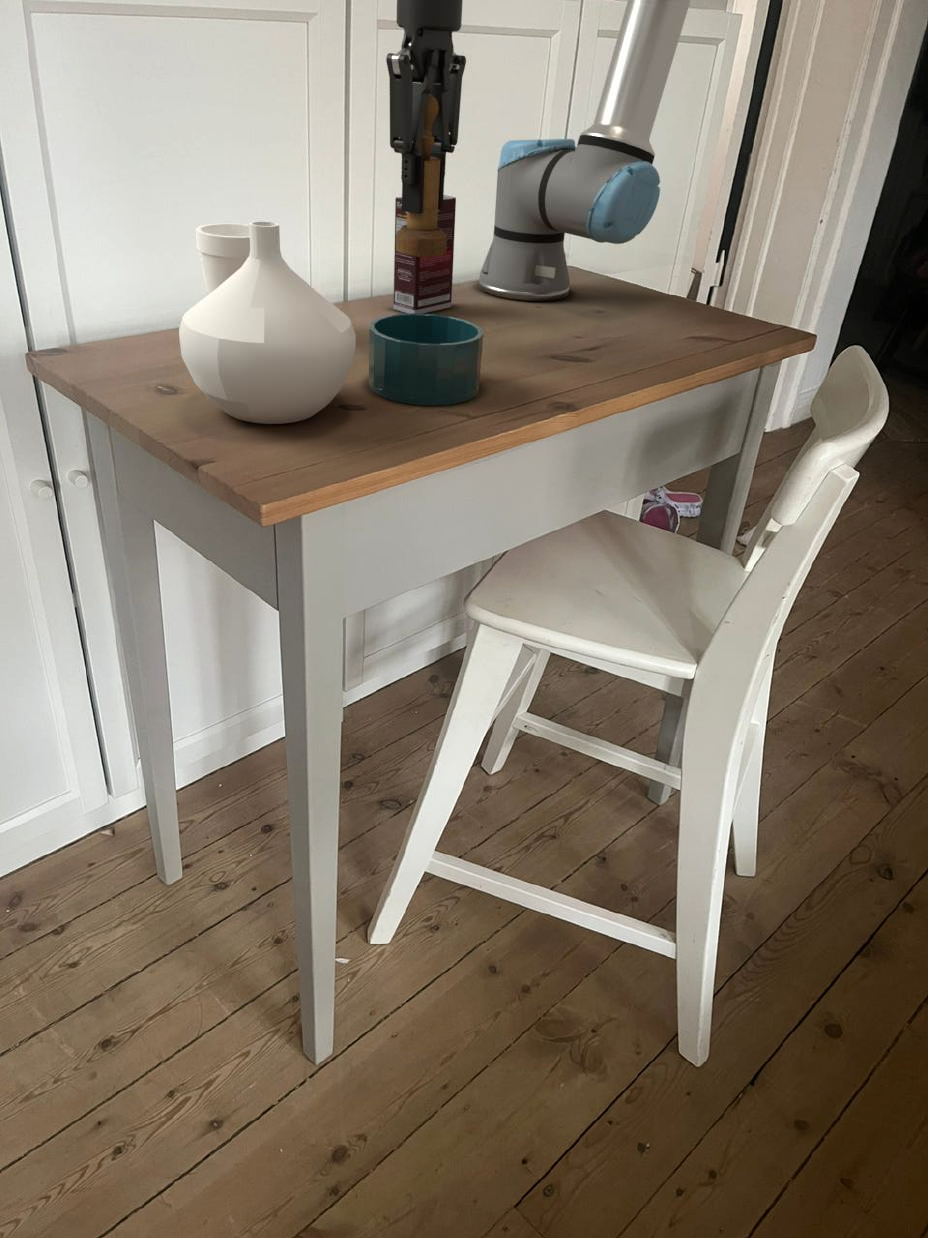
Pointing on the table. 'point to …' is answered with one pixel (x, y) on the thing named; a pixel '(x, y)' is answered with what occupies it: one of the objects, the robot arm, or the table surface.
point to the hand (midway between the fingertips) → (422, 209)
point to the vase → (267, 340)
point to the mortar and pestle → (425, 202)
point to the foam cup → (222, 251)
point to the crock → (424, 358)
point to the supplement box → (425, 267)
